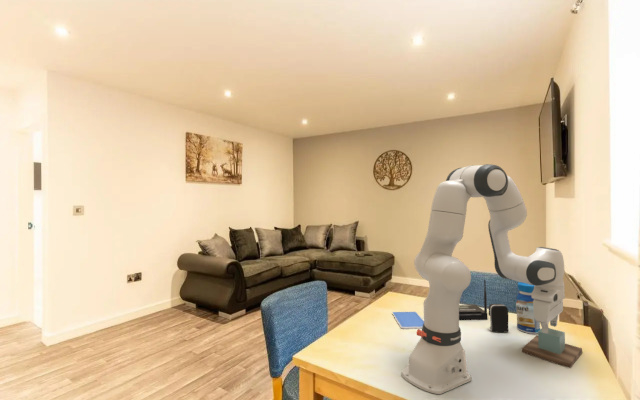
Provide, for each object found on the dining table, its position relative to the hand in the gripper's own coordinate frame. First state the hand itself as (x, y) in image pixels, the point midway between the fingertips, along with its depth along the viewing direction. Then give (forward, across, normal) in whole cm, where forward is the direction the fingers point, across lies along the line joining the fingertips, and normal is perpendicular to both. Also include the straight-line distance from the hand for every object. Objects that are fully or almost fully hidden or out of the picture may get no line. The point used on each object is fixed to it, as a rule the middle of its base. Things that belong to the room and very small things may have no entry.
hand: (549, 329), depth 109 cm
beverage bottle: (+9, -16, -12) cm, 21 cm away
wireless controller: (+9, -13, -36) cm, 39 cm away
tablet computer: (+10, +13, -52) cm, 54 cm away
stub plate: (+8, -1, 0) cm, 9 cm away
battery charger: (+9, -6, -20) cm, 22 cm away
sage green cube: (+7, 0, 0) cm, 7 cm away
